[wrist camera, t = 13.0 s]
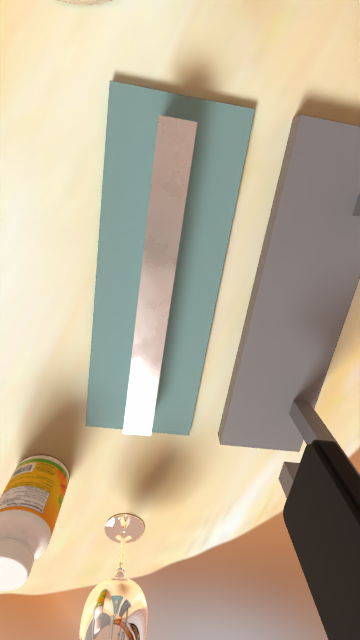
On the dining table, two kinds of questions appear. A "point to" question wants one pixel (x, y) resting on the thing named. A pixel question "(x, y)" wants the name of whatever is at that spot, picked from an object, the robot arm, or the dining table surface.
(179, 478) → the dining table surface
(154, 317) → the steel rail
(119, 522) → the wineglass
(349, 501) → the robot arm
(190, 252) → the teal mat
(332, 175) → the rail stand
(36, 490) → the supplement bottle
